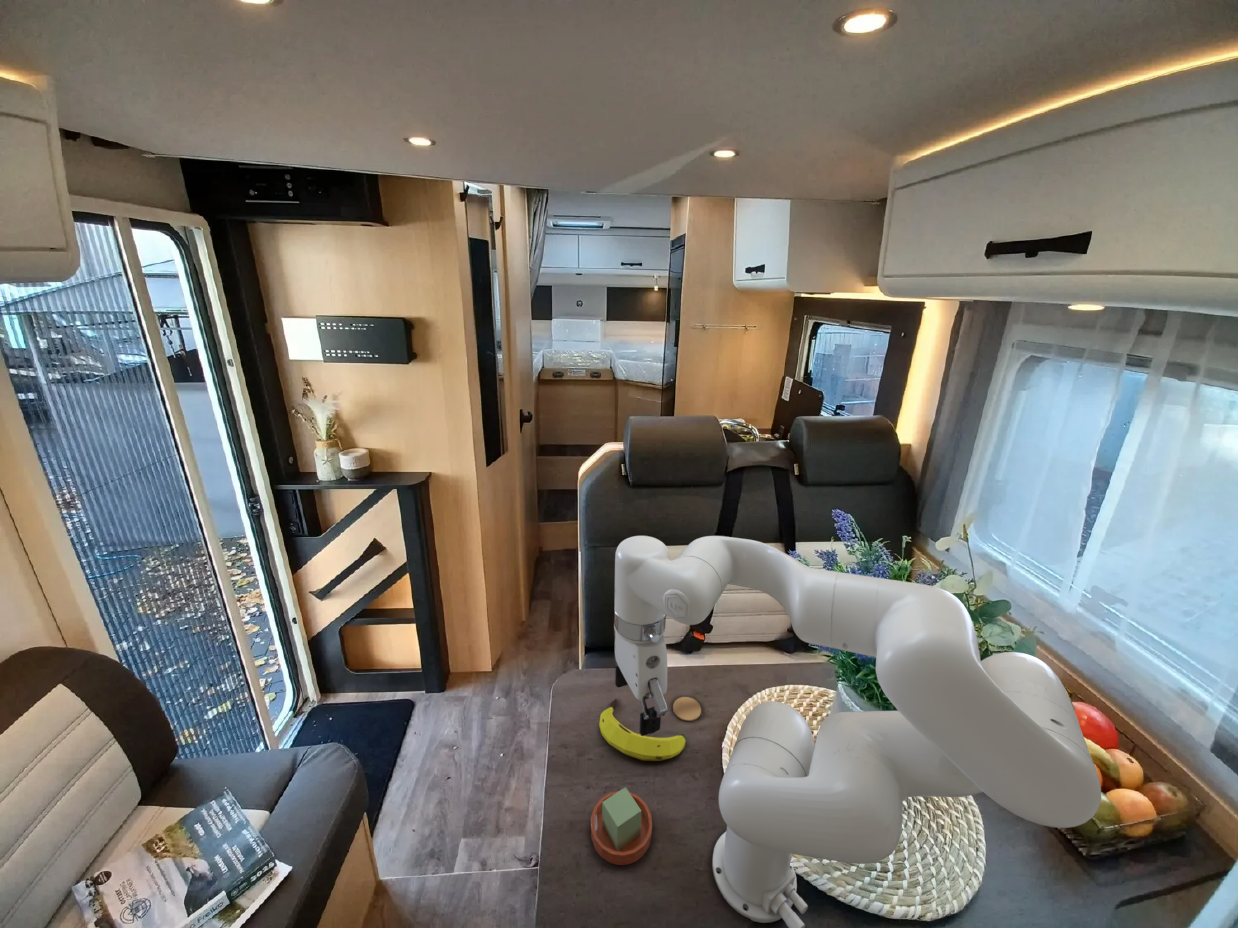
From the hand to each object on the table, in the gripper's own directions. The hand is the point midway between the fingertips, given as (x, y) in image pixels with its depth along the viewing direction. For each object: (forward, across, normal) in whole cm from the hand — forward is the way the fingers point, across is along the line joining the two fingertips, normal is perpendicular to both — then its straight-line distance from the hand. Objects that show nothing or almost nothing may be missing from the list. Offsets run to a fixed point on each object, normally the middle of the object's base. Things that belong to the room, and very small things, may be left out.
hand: (636, 706), depth 76 cm
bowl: (+23, -4, +4) cm, 23 cm away
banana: (+23, +12, -7) cm, 27 cm away
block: (+22, -4, +4) cm, 23 cm away
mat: (+23, +14, -19) cm, 33 cm away
